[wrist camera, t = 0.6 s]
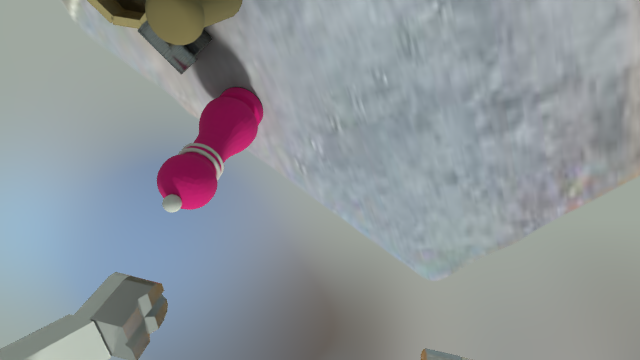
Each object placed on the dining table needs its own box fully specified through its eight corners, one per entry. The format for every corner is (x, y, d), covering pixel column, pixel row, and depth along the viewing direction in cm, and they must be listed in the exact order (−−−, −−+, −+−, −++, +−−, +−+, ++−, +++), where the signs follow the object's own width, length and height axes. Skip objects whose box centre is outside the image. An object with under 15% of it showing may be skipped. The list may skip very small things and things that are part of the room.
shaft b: (215, 42, 44) (193, 61, 39) (197, 60, 46) (174, 80, 42) (177, 0, 41) (149, 15, 37) (159, 21, 43) (130, 38, 39)
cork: (181, -9, 41) (123, 21, 32) (206, -55, 37) (147, -35, 29) (225, 30, 43) (180, 67, 34) (252, -11, 39) (210, 21, 31)
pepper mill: (214, 119, 52) (134, 220, 37) (218, 75, 47) (128, 170, 32) (262, 136, 52) (201, 243, 37) (271, 94, 47) (205, 197, 32)
